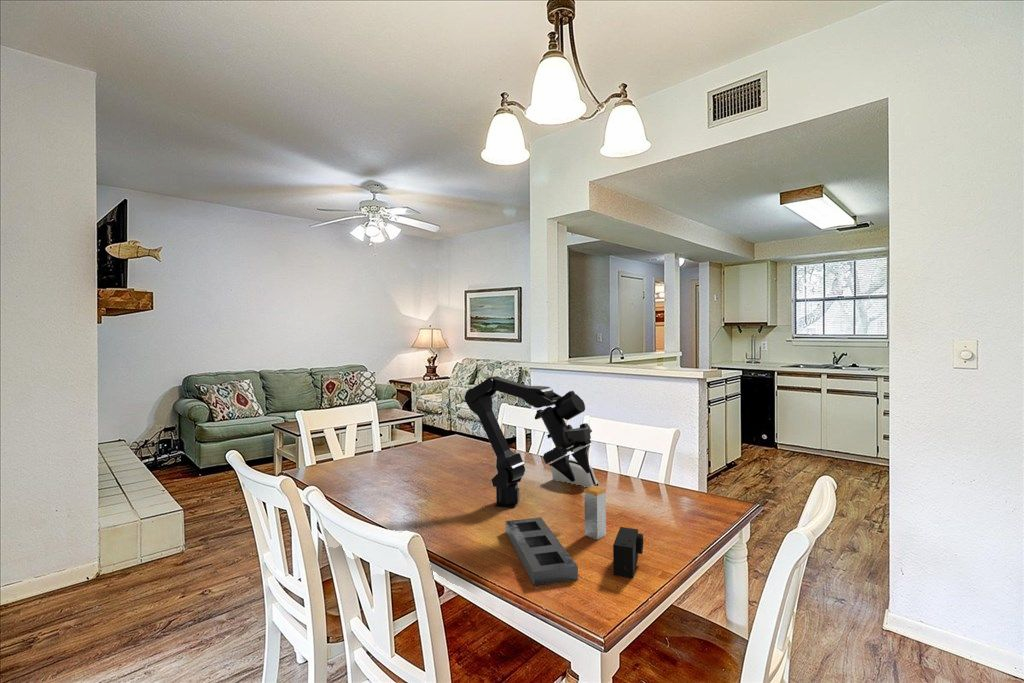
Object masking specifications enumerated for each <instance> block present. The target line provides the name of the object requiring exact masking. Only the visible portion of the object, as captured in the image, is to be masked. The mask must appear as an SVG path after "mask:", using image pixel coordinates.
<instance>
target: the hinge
mask: <svg viewBox="0 0 1024 683" xmlns="http://www.w3.org/2000/svg"><path fill="white" fill-rule="evenodd" d="M569 464H570V467H571V469H572V472H573V474H574V477H575V481H574V482H571V481H570V480H569V479H568V478H567V477H565V476H564V475H563V474H562V473H561V472H559V471H558V470H557V469H555V468H554V467H552V466H550V467H551V474H552V481H555V480H557V481H556V482H559V481H562V482H561V483H564V482H567V483H566V484H568V483H571V484H570V485H573V484H576V485H575V486H577V485H581V486H580V487H582V486H585V487H584V488H586V487H590V486H592V485H595V486H598V485H597V484H599V483H600V482H599V480H598V479H597V478H596V475H595V472H594V469H593V466H592V465H591V464H589V466H590V473H586V472H585V471H584V469H583V468H582V467H581V466H580V465H579V463H578V462H577V461H576V460H575V459H574V458H569ZM599 485H600V484H599Z"/></svg>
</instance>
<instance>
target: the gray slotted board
mask: <svg viewBox="0 0 1024 683" xmlns="http://www.w3.org/2000/svg"><path fill="white" fill-rule="evenodd" d="M505 533H506V535H507V537H508V539H509V541H510V543H511V545H512V547H513V549H514V550H515V552H516V554H517V557H518V558H519V560H520V562H521V563H522V566H523V568H524V570H525V572H526V571H527V572H526V574H527V575H528V577H529V579H530V581H531V583H532V585H533V584H534V585H533V586H534V587H536V586H535V585H538V586H543V585H542V584H545V585H550V584H558V583H565V582H572V581H573V582H574V581H578V580H579V565H578V564H577V563H576V561H574V559H573V558H572V556H571V555H570V553H568V551H567V550H566V549H565V547H564V545H562V543H561V542H560V540H559V539H558V538H557V536H556V535H555V534H554V533H553V531H552V530H551V529H550V527H549V526H548V525H547V523H546V521H544V519H543V518H542V517H532V518H531V517H530V518H524V519H523V518H522V519H513V520H506V521H505Z"/></svg>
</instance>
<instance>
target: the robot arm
mask: <svg viewBox="0 0 1024 683" xmlns="http://www.w3.org/2000/svg"><path fill="white" fill-rule="evenodd" d="M497 392H500V393H503V394H505V395H508V396H512V397H515V398H519V399H521V400H523V401H524V402H525V403H526V405H527V404H528V405H529V406H531V407H533V408H535V409H537V410H536V413H535V416H534V419H535V420H540V419H541V420H542V422H543V424H544V426H545V428H546V430H547V433H548V434H547V435H546V436H547V438H548V439H551V441H552V443H553V444H554V447H553V448H552V449H550V450H549V451H547V452H545V453H543V455H542V458H543V461H544V463H545V465H547V464H548V465H549V466H550V467H551V466H552V467H554V468H555V469H557V470H558V471H559V472H561V473H562V474H563V475H564V476H565V477H567V478H568V479H569V480H570V481H571V482H574V481H575V477H574V474H573V472H572V469H571V467H570V464H569V459H570V456H572V457H573V459H575V460H576V461H577V462H578V463H579V465H580V466H581V467H582V468H583V469H584V471H585V472H586V473H590V466H591V465H590V462H589V455H588V451H589V449H590V447H591V444H592V443H593V442H592V441H591V437H592V436H591V433H592V432H593V430H592V429H591V427H590V425H589V424H588V422H587V423H586V422H585V423H581V424H579V427H574V428H573V426H572V425H571V424H567V422H566V421H570V420H572V419H573V418H575V417H576V416H578V415H580V414H582V413H584V412H585V410H586V404H585V402H584V400H583V398H581V397H580V396H579V394H576V393H575V391H574V390H569V391H568V392H566V393H565V394H564V395H563V396H561V394H558V393H556V392H554V389H553V388H551V387H550V386H546V385H545V386H544V385H528V384H524V383H520V382H516V381H513V380H510V379H506V378H502V377H500V376H498V375H497V376H496V375H494V376H488V377H487V378H486V379H485V380H483V381H481V383H479V384H477V385H475V386H473V387H472V388H469V389H467V390H466V391H465V395H464V400H465V403H466V405H467V406H468V409H469V410H470V411H471V412H473V413H474V414H475V415H476V416H477V417H478V419H479V421H480V423H481V426H482V428H483V429H484V433H485V435H486V436H487V439H488V442H489V443H490V446H491V448H492V450H493V452H494V454H495V456H496V461H495V462H496V463H495V467H496V470H497V473H496V474H495V475H494V476H493V477H492V479H491V483H492V487H495V489H496V490H495V491H496V492H495V493H496V494H495V496H496V498H495V499H496V502H495V503H494V506H495V507H502V508H503V507H505V508H516V506H517V505H518V504H519V502H520V499H521V498H520V488H519V487H518V486H519V484H518V483H521V481H522V477H524V475H525V472H526V467H525V465H526V463H525V462H524V460H523V459H522V456H521V453H520V452H517V453H515V452H513V451H512V450H511V448H510V446H509V443H508V441H507V439H506V437H505V435H504V433H503V430H502V429H501V426H500V423H499V421H498V420H497V418H496V416H495V414H494V411H493V401H494V400H493V398H492V397H493V396H494V395H495V394H496V393H497ZM552 406H554V407H552ZM543 407H545V408H544V409H540V408H543ZM565 420H566V421H565ZM569 452H571V454H568V453H569ZM589 465H590V466H589ZM552 467H551V468H552Z"/></svg>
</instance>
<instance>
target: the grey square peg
mask: <svg viewBox="0 0 1024 683" xmlns="http://www.w3.org/2000/svg"><path fill="white" fill-rule="evenodd" d="M606 490H607V489H606V487H601V486H599V485H592V486H590V487H587V488H586V487H584V490H583V491H584V499H583V500H584V536H585V537H589V538H591V539H594V540H596V541H598V540H600V539H603V538H604V537H605V536H607V500H606V498H607V493H606Z"/></svg>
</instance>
